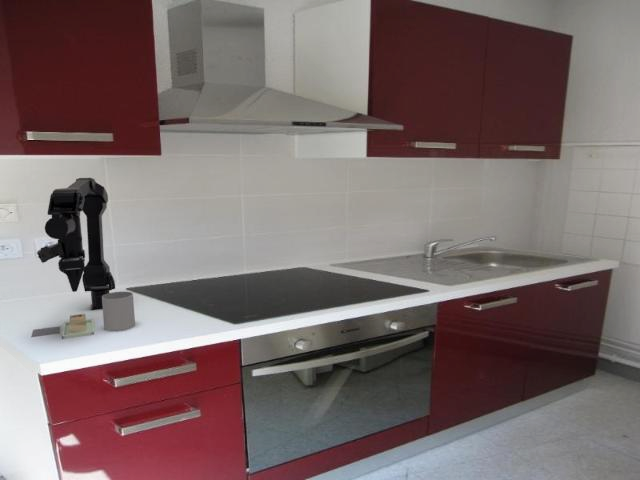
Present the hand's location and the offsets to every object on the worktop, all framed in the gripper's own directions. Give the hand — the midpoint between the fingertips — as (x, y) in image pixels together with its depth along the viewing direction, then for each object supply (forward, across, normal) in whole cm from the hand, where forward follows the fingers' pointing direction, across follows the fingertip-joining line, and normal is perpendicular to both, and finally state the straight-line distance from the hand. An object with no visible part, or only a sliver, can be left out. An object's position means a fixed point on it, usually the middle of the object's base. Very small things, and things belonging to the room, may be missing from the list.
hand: (75, 287), depth 143 cm
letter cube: (+12, 0, 0) cm, 12 cm away
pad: (+13, -2, -8) cm, 16 cm away
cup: (+13, +2, +11) cm, 17 cm away
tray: (+13, 0, 0) cm, 13 cm away
